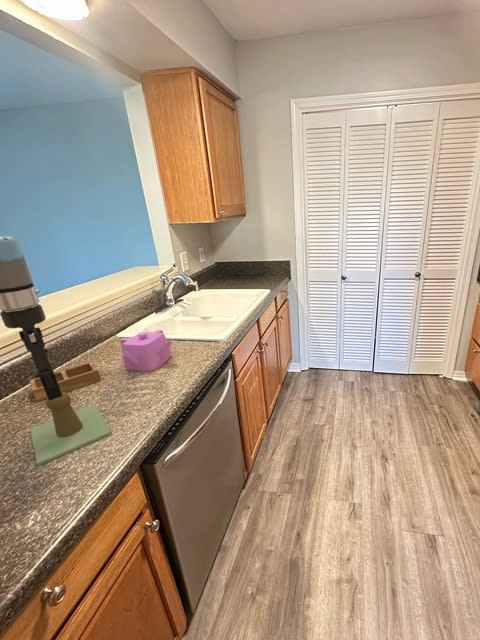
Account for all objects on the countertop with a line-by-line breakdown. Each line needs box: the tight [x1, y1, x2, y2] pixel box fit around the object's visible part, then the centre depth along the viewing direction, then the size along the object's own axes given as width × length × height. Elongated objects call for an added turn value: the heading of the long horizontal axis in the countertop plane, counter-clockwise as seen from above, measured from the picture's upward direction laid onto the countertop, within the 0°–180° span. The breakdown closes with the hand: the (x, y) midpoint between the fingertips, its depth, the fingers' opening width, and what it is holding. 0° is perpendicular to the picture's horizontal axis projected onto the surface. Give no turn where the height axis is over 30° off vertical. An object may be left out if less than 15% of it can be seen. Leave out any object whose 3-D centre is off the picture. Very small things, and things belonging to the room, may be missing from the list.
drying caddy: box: [29, 360, 102, 403], centre depth 110 cm, size 10×18×4 cm, turn 132°
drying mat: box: [29, 403, 112, 466], centre depth 87 cm, size 18×16×1 cm
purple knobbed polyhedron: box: [119, 329, 173, 373], centre depth 122 cm, size 17×17×12 cm
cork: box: [45, 392, 83, 437], centre depth 85 cm, size 6×6×11 cm
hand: (51, 387), depth 82 cm, fingers open, 13 cm apart
